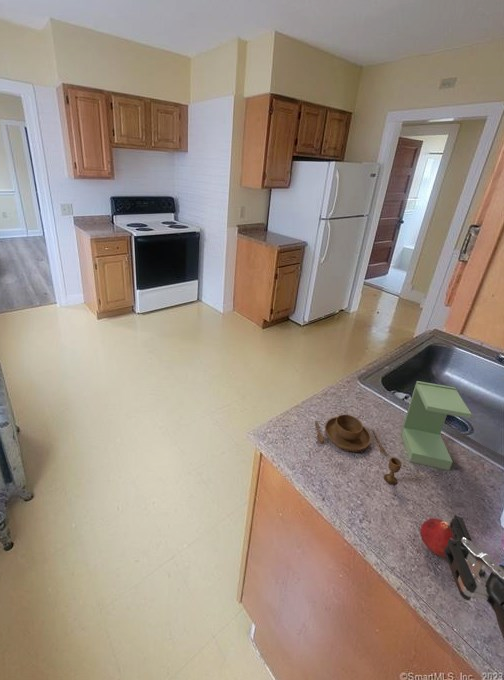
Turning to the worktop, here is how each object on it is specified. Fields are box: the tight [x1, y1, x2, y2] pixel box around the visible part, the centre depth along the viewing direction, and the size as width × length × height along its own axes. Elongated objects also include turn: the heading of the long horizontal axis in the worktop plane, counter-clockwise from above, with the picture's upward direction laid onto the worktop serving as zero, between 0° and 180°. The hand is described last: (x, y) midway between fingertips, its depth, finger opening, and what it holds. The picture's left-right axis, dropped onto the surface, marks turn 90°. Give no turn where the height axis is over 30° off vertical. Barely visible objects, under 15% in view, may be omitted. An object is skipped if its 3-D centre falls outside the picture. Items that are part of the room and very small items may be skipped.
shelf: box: [400, 380, 473, 471], centre depth 82 cm, size 10×9×18 cm
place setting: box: [314, 414, 403, 486], centre depth 85 cm, size 18×20×6 cm
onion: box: [419, 517, 454, 558], centre depth 61 cm, size 6×6×8 cm
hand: (488, 527), depth 47 cm, fingers open, 8 cm apart
